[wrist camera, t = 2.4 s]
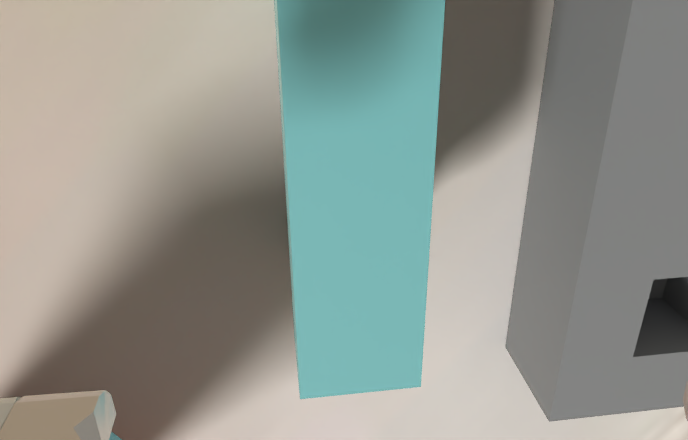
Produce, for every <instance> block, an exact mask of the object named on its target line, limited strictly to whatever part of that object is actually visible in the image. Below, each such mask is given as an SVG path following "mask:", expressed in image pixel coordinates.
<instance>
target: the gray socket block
mask: <svg viewBox="0 0 688 440" xmlns="http://www.w3.org/2000/svg"><path fill="white" fill-rule="evenodd" d="M506 349H507V351H508V352H509V354H510V356H511V357H512V359H513V361H514V362H515V364H516V366H517V368H518V369H519V371H520V373H521V374H522V376H523V378H524V380H525V381H526V383H527V385H528V386H529V388H530V390H531V391H532V393H533V395H534V397H535V398H536V400H537V402H538V403H539V405H540V407H541V409H542V410H543V412H544V414H545V415H546V417H547V419H548V420H549V421H558V420H567V419H576V418H585V417H594V416H602V415H611V414H620V413H629V412H638V411H647V410H656V409H665V408H674V407H683V406H684V404H683V395H684V391H685V387H686V383H687V380H688V0H555V3H554V10H553V17H552V24H551V31H550V38H549V45H548V52H547V59H546V66H545V73H544V80H543V87H542V94H541V101H540V108H539V115H538V122H537V129H536V136H535V143H534V150H533V157H532V164H531V171H530V178H529V185H528V192H527V199H526V206H525V213H524V220H523V227H522V234H521V242H520V249H519V256H518V263H517V270H516V277H515V284H514V291H513V298H512V305H511V312H510V319H509V326H508V333H507V340H506Z"/></svg>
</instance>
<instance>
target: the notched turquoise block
mask: <svg viewBox="0 0 688 440" xmlns="http://www.w3.org/2000/svg"><path fill="white" fill-rule="evenodd" d="M274 6H275V23H276V39H277V56H278V72H279V89H280V106H281V122H282V139H283V155H284V172H285V188H286V205H287V222H288V238H289V255H290V271H291V288H292V305H293V321H294V337H295V348H296V359H297V370H298V381H299V392H300V399H306V398H316V397H325V396H335V395H345V394H355V393H364V392H374V391H384V390H394V389H403V388H413V387H421V375H422V359H423V343H424V327H425V312H426V296H427V280H428V264H429V248H430V233H431V217H432V201H433V185H434V169H435V153H436V138H437V122H438V106H439V90H440V74H441V59H442V43H443V27H444V11H445V0H274Z"/></svg>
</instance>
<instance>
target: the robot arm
mask: <svg viewBox="0 0 688 440" xmlns="http://www.w3.org/2000/svg"><path fill="white" fill-rule="evenodd" d="M683 404H684V409H685V414H686V419H687V421H688V380H687V383H686V387H685V391H684V395H683ZM115 417H116V411H115V407H114V404H113V400H112V396H111V394H110V393H109V392H107V391H106V390H97V391H84V392H70V393H57V394H43V395H30V396H23V397H12V398H0V440H122V439H120V438H119V437H118V436H117V435H115V434H114V433H113V432H111V431H112V427H113V424H114V420H115Z"/></svg>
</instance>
